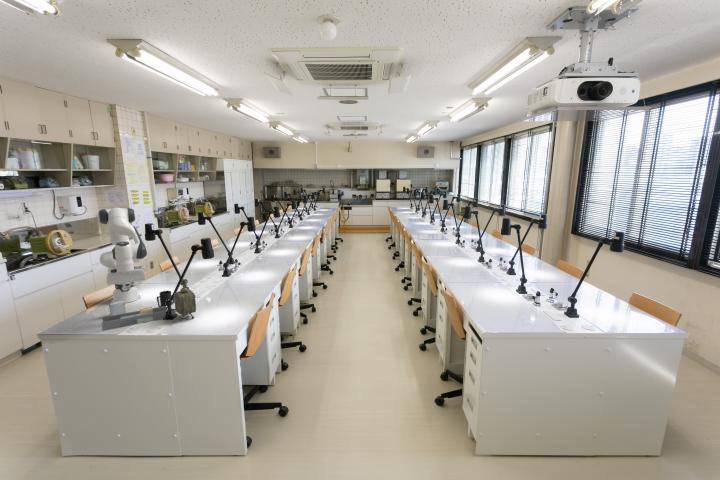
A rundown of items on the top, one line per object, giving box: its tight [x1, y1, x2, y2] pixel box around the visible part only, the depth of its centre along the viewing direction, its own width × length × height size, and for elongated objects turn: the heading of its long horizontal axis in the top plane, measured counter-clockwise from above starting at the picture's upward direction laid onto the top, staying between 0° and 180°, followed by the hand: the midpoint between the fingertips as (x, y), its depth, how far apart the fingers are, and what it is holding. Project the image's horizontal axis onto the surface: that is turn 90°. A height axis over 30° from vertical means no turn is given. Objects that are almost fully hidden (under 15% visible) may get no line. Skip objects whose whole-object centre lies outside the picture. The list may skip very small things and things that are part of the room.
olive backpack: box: [173, 280, 197, 319], centre depth 219 cm, size 14×9×25 cm, turn 44°
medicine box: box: [108, 301, 127, 316], centre depth 224 cm, size 8×4×9 cm, turn 141°
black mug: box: [156, 290, 172, 307], centre depth 235 cm, size 10×7×12 cm
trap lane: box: [101, 306, 167, 331], centre depth 214 cm, size 10×35×5 cm, turn 126°
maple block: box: [138, 306, 153, 315], centre depth 217 cm, size 5×7×4 cm
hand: (127, 288), depth 209 cm, fingers closed
